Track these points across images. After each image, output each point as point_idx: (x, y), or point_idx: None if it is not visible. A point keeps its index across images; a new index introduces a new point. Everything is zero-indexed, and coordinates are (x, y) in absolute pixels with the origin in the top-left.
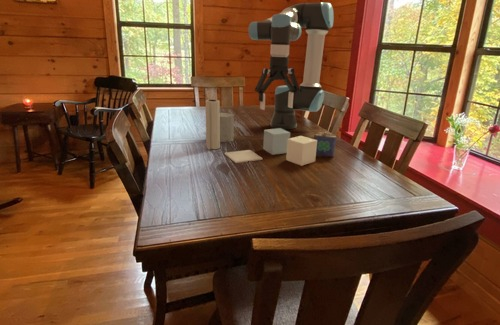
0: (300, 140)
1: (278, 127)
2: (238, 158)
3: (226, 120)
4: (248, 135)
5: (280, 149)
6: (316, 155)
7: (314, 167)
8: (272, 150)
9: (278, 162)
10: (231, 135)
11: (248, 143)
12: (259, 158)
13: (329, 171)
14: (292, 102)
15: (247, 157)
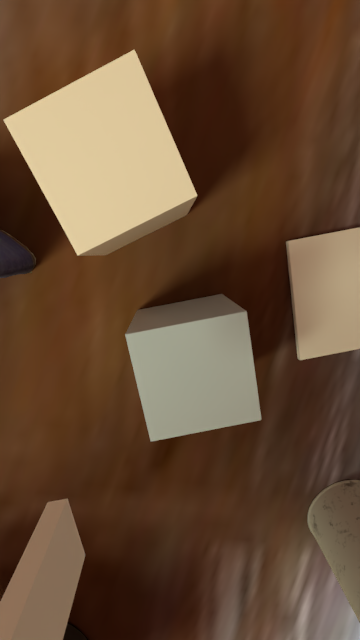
0: (125, 139)
1: (69, 631)
2: None
3: None
4: (230, 552)
5: (184, 304)
6: (22, 244)
7: None
8: (225, 297)
9: (231, 190)
10: (338, 509)
11: (267, 453)
12: (302, 240)
13: (40, 9)
14: (23, 568)
15: (347, 262)
